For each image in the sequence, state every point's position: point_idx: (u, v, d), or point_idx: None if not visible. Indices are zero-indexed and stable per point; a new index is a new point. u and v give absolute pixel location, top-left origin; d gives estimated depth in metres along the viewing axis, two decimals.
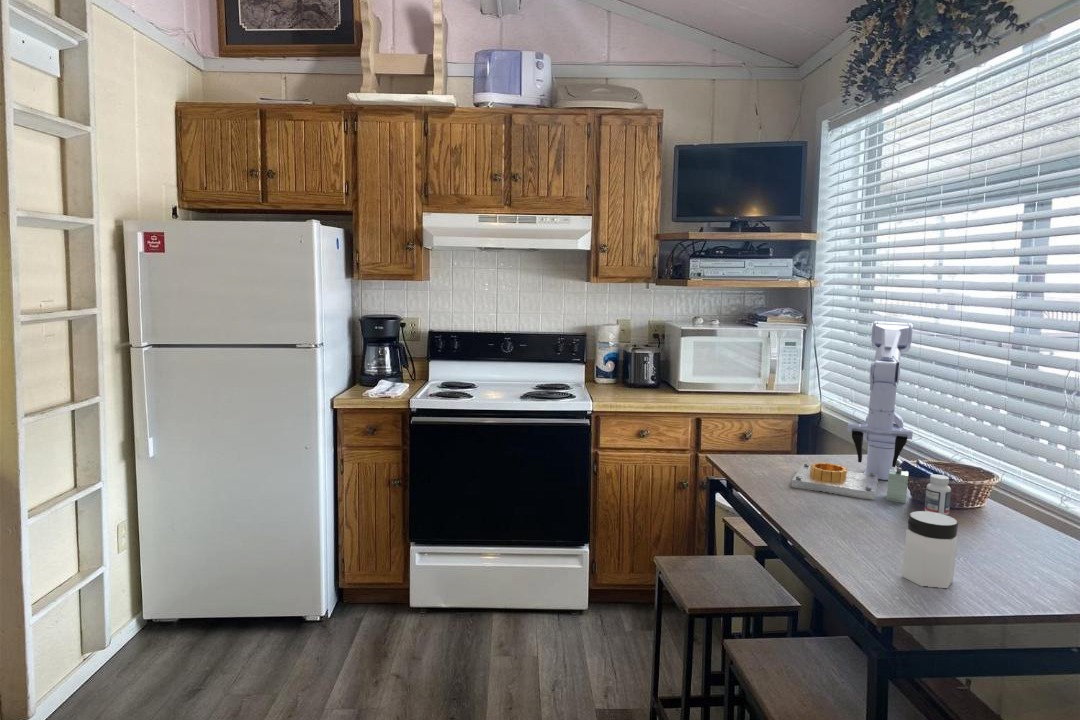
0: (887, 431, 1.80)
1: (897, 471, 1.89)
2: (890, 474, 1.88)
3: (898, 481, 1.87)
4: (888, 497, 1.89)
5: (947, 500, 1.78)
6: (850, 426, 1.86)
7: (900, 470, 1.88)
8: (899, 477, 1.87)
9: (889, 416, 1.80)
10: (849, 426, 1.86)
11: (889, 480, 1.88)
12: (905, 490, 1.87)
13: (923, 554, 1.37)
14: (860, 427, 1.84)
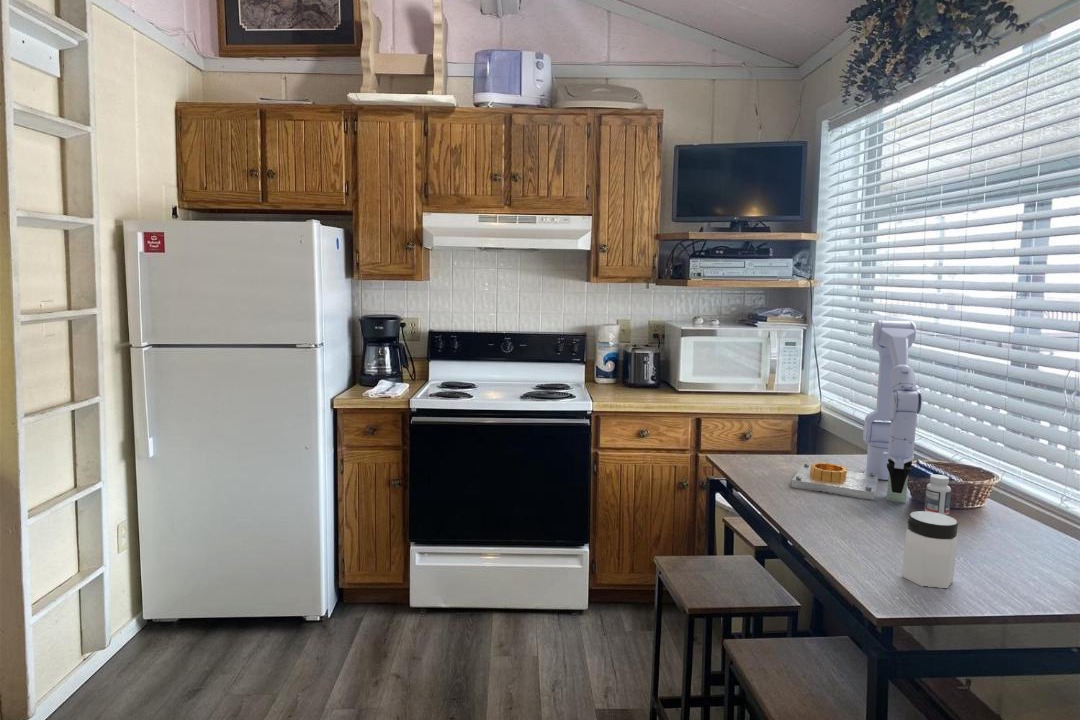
0: (888, 455, 1.88)
1: None
2: None
3: None
4: (888, 497, 1.89)
5: (947, 500, 1.78)
6: None
7: None
8: None
9: (892, 442, 1.87)
10: None
11: (889, 480, 1.88)
12: (905, 490, 1.87)
13: (923, 554, 1.37)
14: None
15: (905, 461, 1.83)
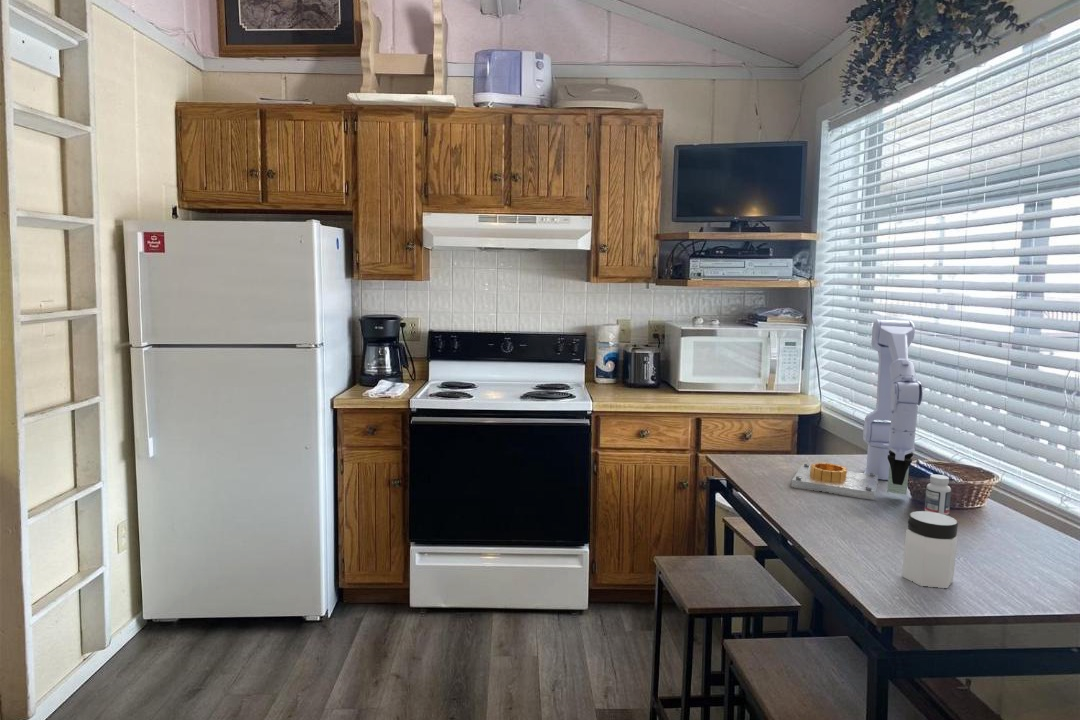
0: (889, 447, 1.88)
1: None
2: None
3: None
4: (889, 489, 1.88)
5: (947, 500, 1.78)
6: None
7: None
8: None
9: (893, 434, 1.87)
10: None
11: (890, 472, 1.88)
12: (906, 482, 1.86)
13: (923, 554, 1.37)
14: None
15: (906, 453, 1.83)
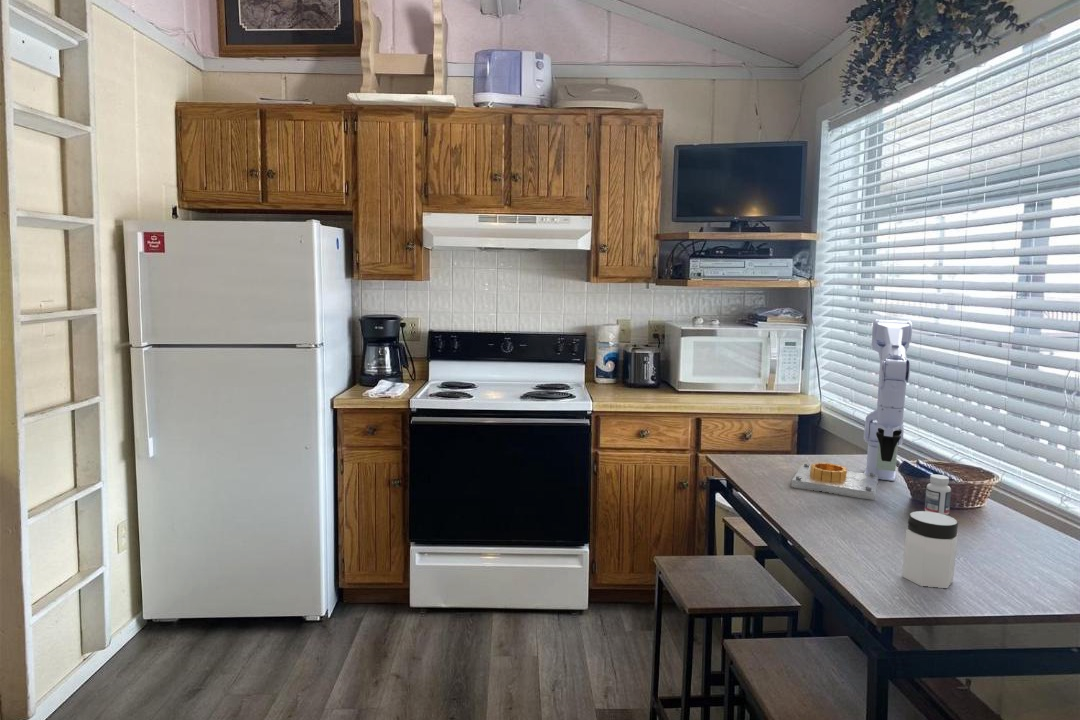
0: (878, 424, 1.89)
1: None
2: None
3: None
4: (878, 465, 1.90)
5: (947, 500, 1.78)
6: None
7: None
8: None
9: (881, 411, 1.88)
10: None
11: (879, 449, 1.89)
12: (894, 458, 1.88)
13: (923, 554, 1.37)
14: None
15: (894, 429, 1.84)
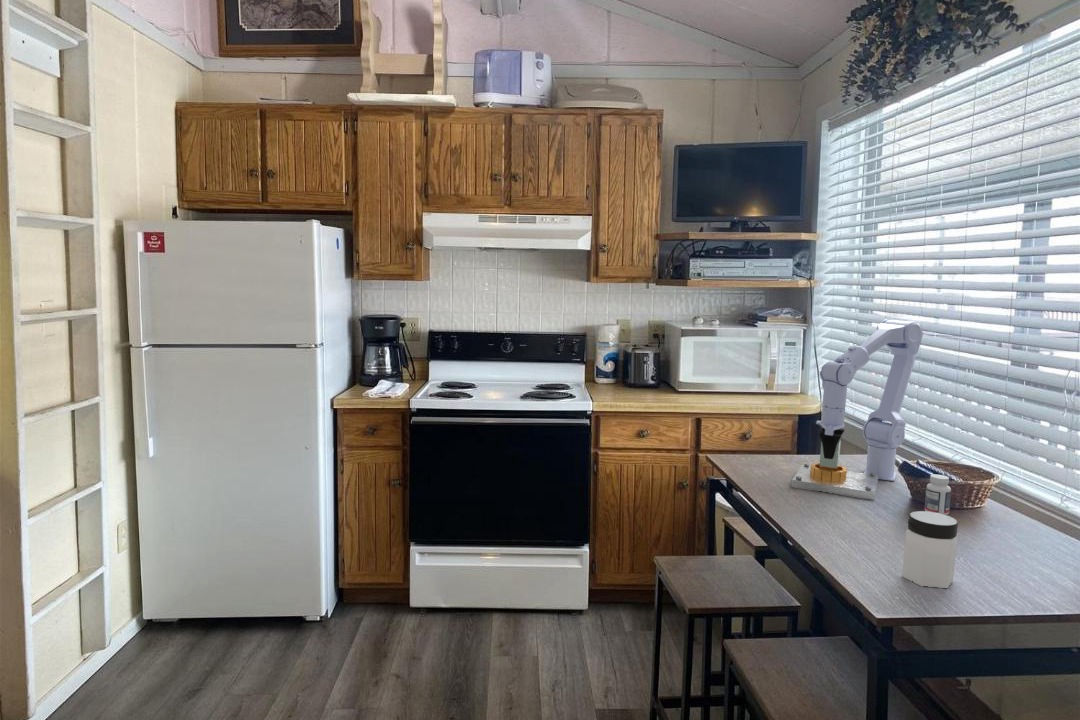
0: (821, 424, 1.99)
1: None
2: None
3: None
4: (821, 463, 2.00)
5: (947, 500, 1.78)
6: None
7: None
8: None
9: (824, 411, 1.99)
10: None
11: (822, 447, 2.00)
12: (836, 456, 1.98)
13: (923, 554, 1.37)
14: None
15: (835, 428, 1.95)
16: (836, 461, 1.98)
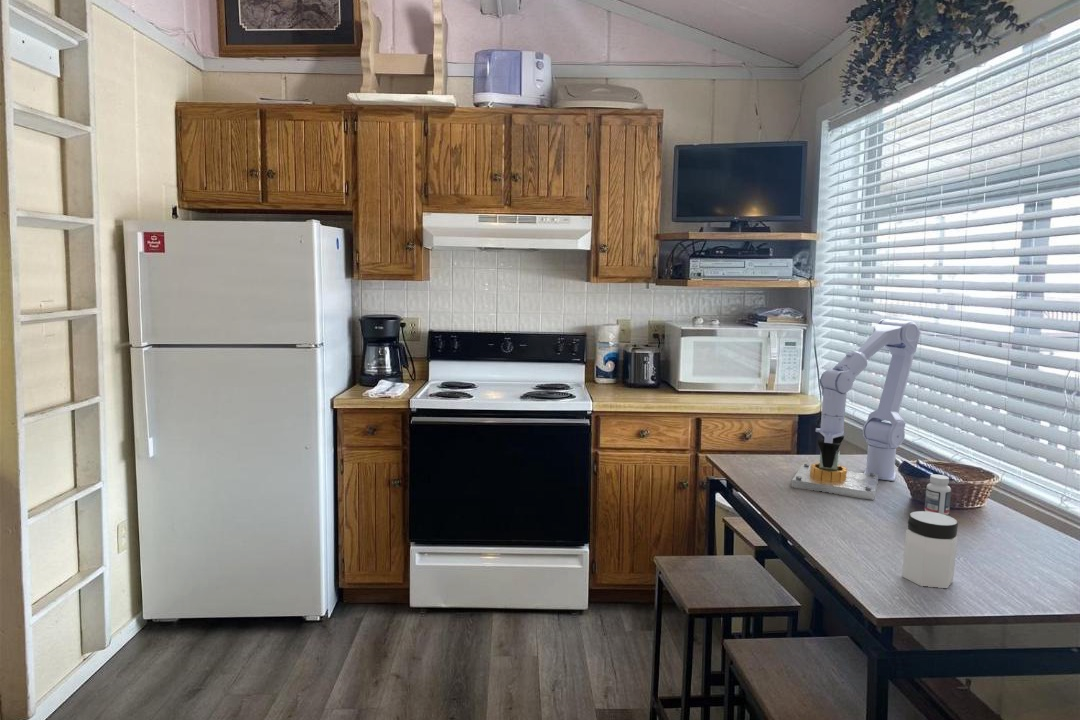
0: (820, 431, 2.00)
1: None
2: None
3: None
4: None
5: (947, 500, 1.78)
6: None
7: None
8: None
9: (823, 418, 1.99)
10: None
11: (821, 458, 2.00)
12: (835, 467, 1.99)
13: (923, 554, 1.37)
14: None
15: (834, 436, 1.95)
16: None
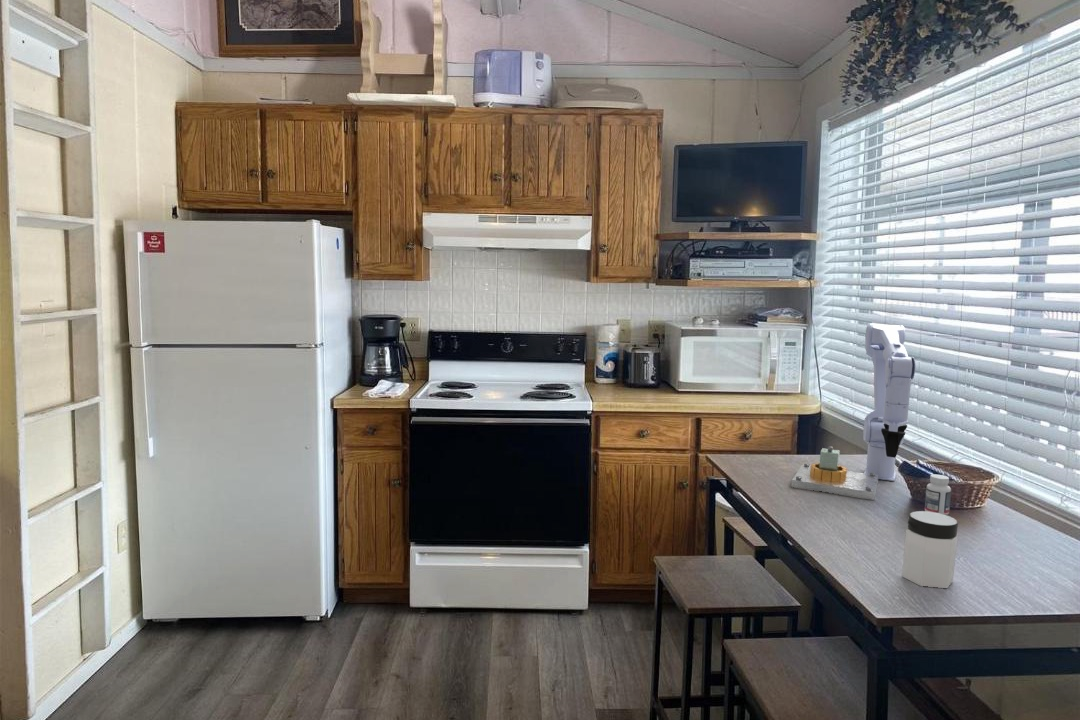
0: (883, 420, 1.95)
1: (828, 449, 2.01)
2: (822, 452, 2.00)
3: (829, 459, 1.99)
4: None
5: (947, 500, 1.78)
6: None
7: (831, 449, 2.00)
8: (830, 455, 1.99)
9: (887, 407, 1.94)
10: None
11: (821, 458, 2.00)
12: (835, 467, 1.99)
13: (923, 554, 1.37)
14: None
15: (899, 424, 1.90)
16: None
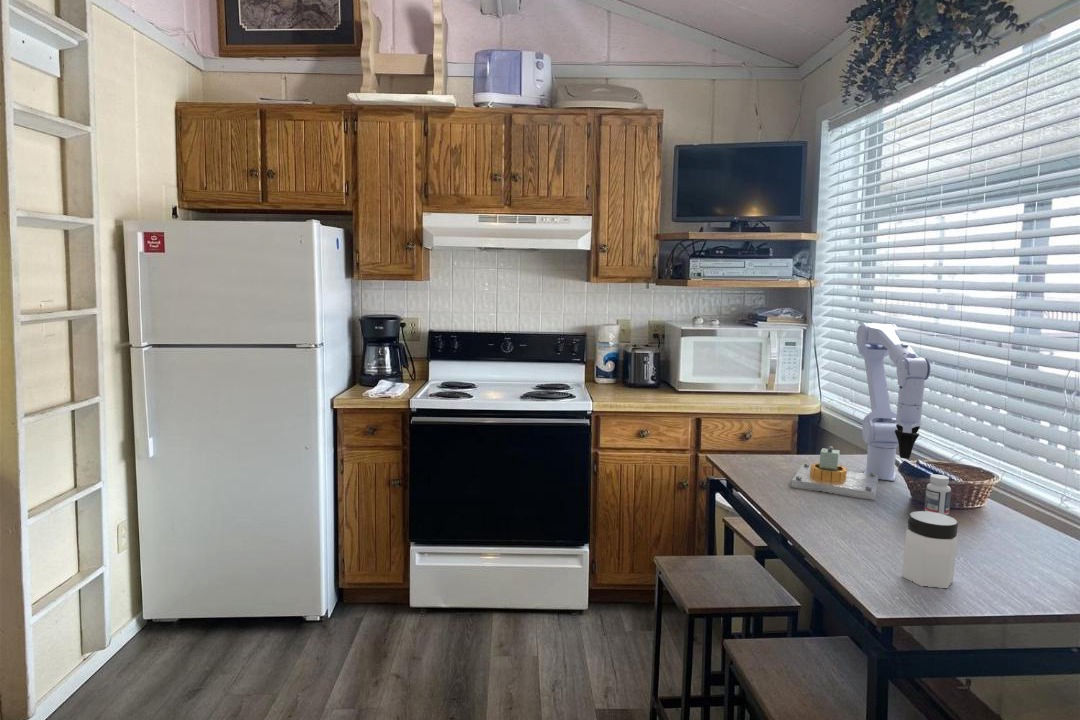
0: (897, 421, 1.94)
1: (828, 449, 2.01)
2: (822, 452, 2.00)
3: (829, 459, 1.99)
4: None
5: (947, 500, 1.78)
6: None
7: (831, 449, 2.00)
8: (830, 455, 1.99)
9: (900, 408, 1.93)
10: None
11: (821, 458, 2.00)
12: (835, 467, 1.99)
13: (923, 554, 1.37)
14: None
15: (913, 426, 1.89)
16: None
